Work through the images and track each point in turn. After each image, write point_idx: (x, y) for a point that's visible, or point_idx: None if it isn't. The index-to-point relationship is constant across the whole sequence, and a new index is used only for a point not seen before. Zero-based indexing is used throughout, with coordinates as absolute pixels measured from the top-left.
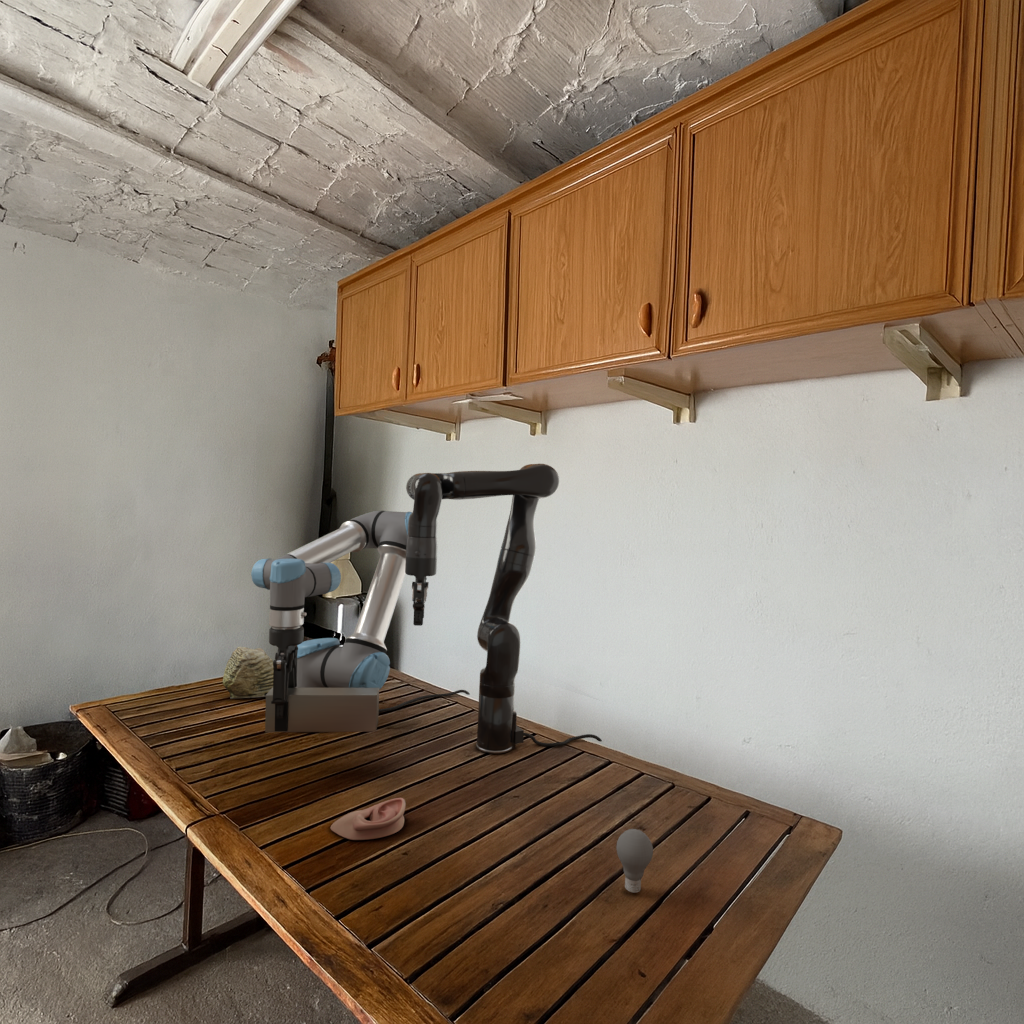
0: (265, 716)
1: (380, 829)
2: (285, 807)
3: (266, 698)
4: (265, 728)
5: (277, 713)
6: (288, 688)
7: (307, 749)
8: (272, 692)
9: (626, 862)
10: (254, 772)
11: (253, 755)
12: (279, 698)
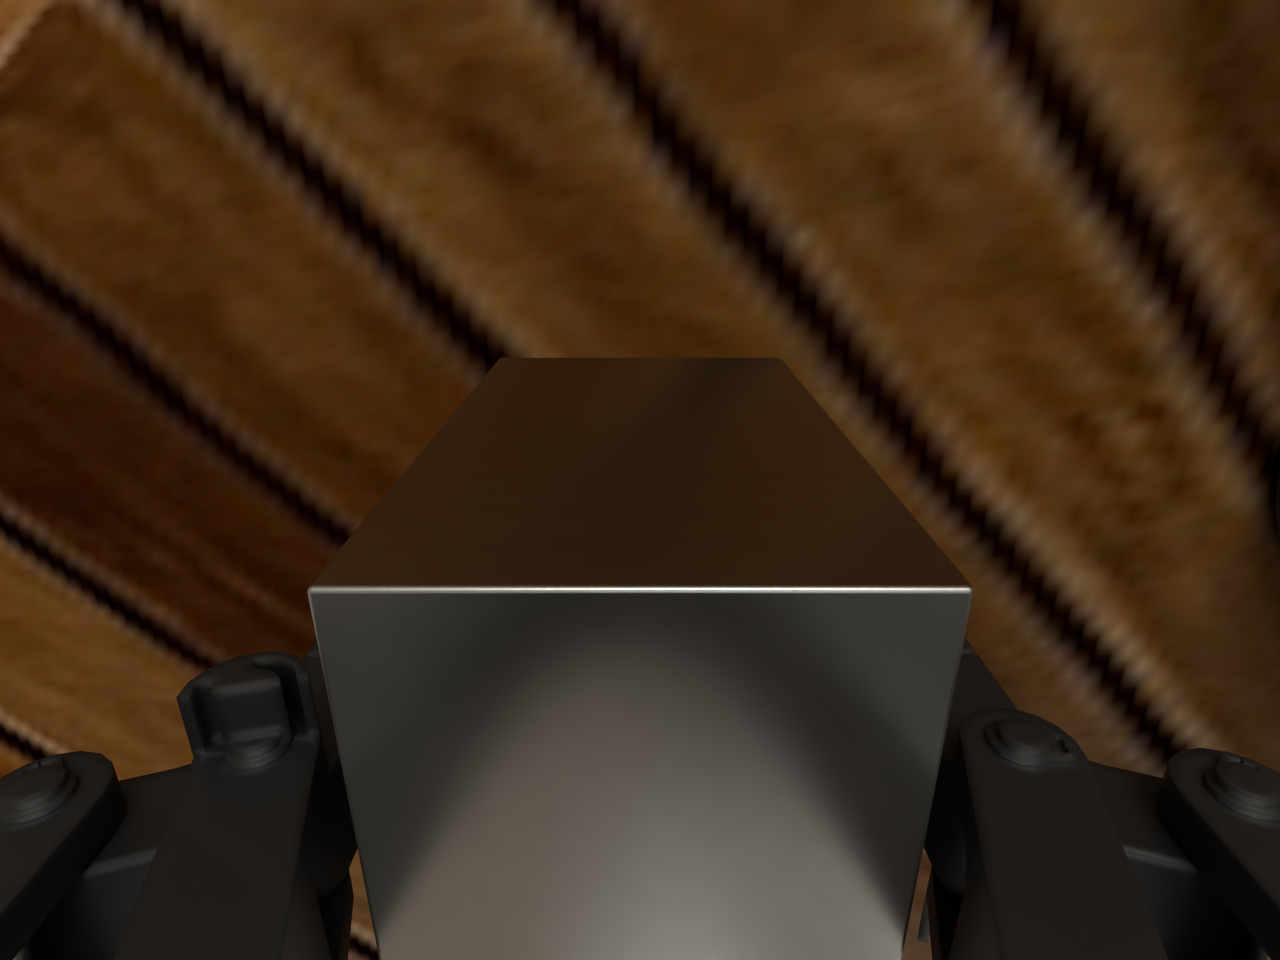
0: (455, 413)
1: None
2: (101, 543)
3: (341, 560)
4: (491, 372)
5: (318, 650)
6: (835, 930)
7: (948, 491)
8: (526, 693)
9: None
10: (559, 218)
11: (889, 108)
12: (22, 950)
